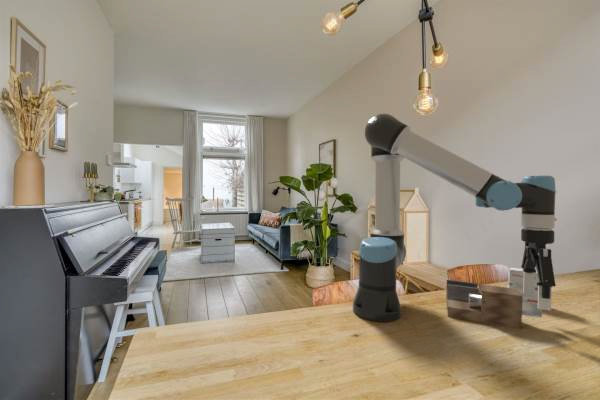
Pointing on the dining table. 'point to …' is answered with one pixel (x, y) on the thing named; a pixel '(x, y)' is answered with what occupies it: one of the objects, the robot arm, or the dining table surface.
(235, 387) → the dining table surface
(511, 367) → the dining table surface
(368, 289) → the robot arm
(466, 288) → the v block
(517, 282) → the ink box
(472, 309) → the wooden shaft support
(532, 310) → the axle
